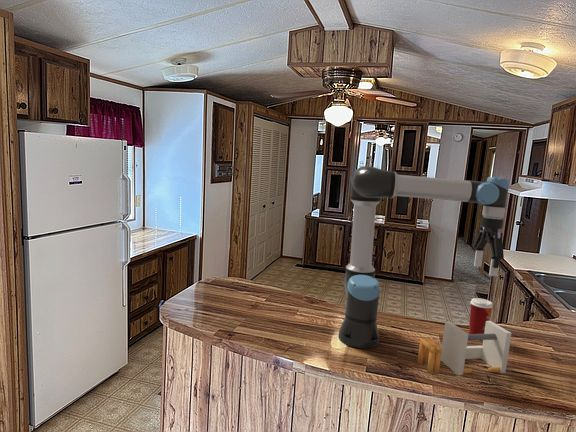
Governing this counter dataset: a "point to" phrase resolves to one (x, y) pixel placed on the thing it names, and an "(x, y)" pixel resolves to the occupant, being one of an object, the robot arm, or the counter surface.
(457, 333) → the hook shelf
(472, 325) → the coffee cup
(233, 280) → the counter surface
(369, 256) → the robot arm
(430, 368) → the cord hank
